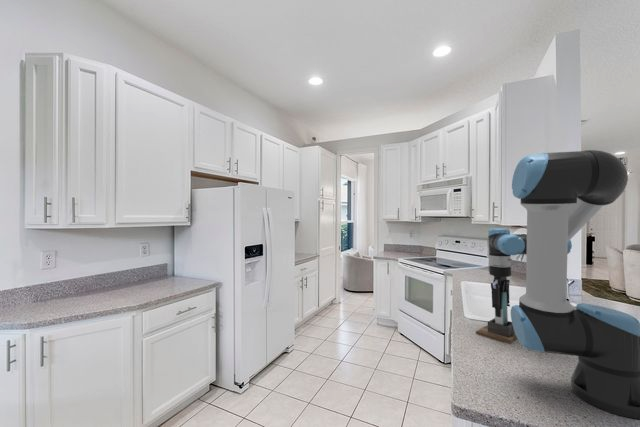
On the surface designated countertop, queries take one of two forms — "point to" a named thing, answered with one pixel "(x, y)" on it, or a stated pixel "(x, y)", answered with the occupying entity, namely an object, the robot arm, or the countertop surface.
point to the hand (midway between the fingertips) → (501, 323)
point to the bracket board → (498, 332)
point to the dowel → (504, 308)
